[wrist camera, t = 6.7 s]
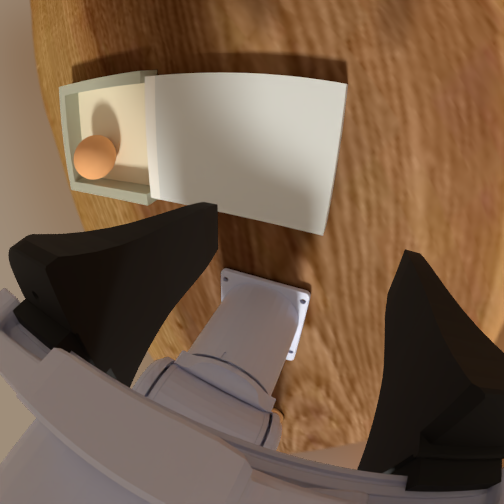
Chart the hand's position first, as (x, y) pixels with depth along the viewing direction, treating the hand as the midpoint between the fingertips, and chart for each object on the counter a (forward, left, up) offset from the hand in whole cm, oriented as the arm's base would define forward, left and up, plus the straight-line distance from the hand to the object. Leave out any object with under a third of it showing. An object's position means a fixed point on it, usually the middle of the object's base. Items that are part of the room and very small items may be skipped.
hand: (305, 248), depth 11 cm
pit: (+1, +20, -10) cm, 22 cm away
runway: (+1, +7, -10) cm, 12 cm away
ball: (-1, +20, -8) cm, 21 cm away
